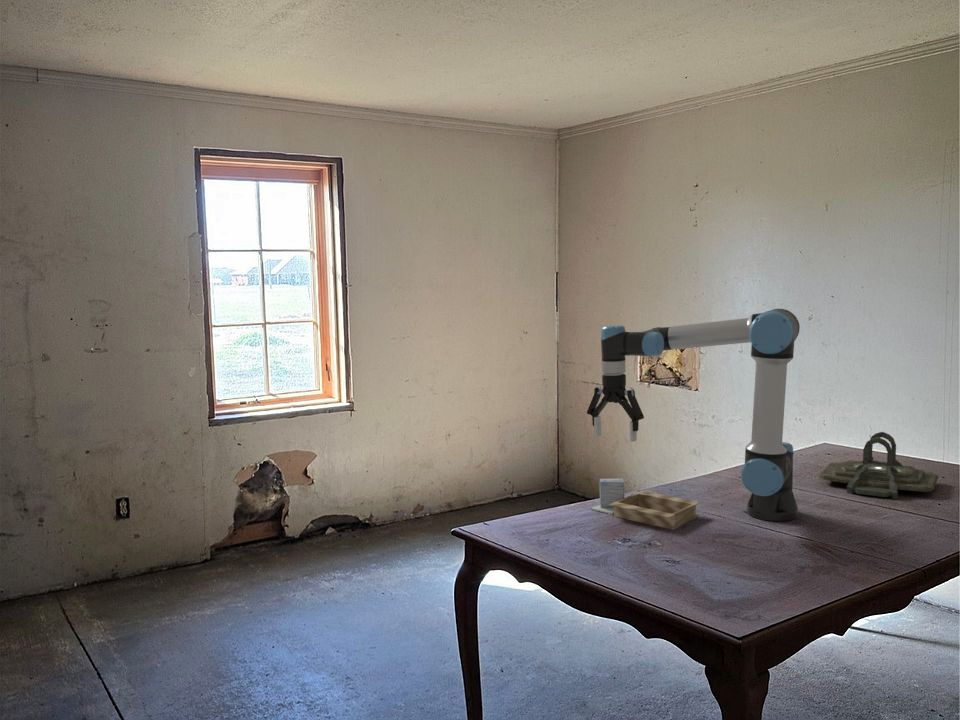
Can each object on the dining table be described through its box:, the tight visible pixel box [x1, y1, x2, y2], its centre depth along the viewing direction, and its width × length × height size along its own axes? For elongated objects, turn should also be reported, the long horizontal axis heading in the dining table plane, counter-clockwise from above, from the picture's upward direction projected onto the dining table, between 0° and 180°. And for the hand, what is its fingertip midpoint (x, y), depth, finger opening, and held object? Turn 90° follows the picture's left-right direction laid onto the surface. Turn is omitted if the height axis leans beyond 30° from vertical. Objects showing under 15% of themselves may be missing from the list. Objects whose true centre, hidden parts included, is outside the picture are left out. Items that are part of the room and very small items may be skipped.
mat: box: [590, 504, 614, 515], centre depth 267 cm, size 8×12×1 cm, turn 137°
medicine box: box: [599, 478, 626, 508], centre depth 266 cm, size 8×4×9 cm, turn 84°
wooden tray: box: [609, 490, 701, 531], centre depth 256 cm, size 21×19×4 cm
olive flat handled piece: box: [819, 431, 939, 500], centre depth 282 cm, size 35×34×18 cm
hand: (615, 438), depth 264 cm, fingers open, 13 cm apart
